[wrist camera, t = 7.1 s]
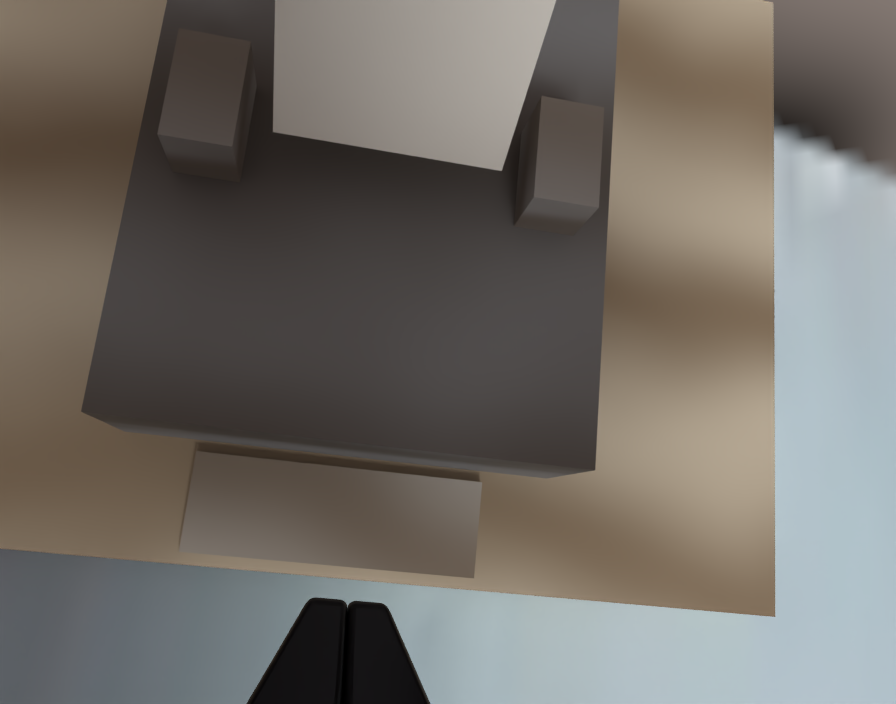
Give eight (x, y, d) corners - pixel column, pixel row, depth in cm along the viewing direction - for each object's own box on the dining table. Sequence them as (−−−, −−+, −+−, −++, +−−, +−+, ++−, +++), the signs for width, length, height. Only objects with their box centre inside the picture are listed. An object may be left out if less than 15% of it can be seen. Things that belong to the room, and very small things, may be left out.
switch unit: (750, 611, 18) (927, 649, 13) (-176, 529, 15) (-432, 535, 10) (752, 25, 22) (891, -131, 16) (8, -131, 19) (-109, -379, 14)
